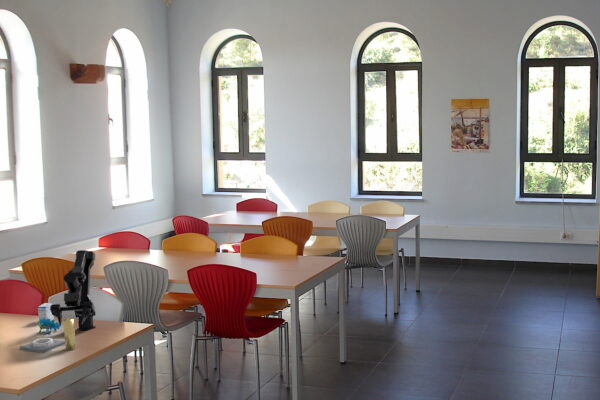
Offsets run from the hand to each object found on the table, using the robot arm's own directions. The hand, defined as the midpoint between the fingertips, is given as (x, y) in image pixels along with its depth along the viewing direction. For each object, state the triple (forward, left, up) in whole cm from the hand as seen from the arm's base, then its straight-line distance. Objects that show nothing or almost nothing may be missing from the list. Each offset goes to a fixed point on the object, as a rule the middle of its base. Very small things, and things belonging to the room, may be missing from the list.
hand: (70, 325), depth 343 cm
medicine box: (-30, -48, -10) cm, 57 cm away
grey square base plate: (+4, -14, -10) cm, 17 cm away
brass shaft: (+2, +2, -10) cm, 10 cm away
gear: (-15, -31, -10) cm, 36 cm away
